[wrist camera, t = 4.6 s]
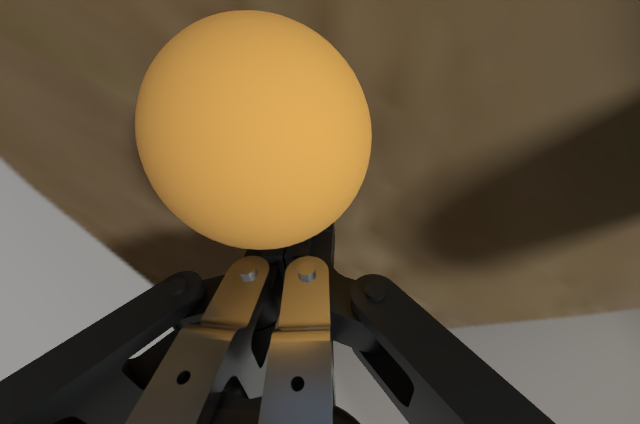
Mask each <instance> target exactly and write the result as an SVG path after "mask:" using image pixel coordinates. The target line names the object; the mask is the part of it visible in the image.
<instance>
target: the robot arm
mask: <svg viewBox="0 0 640 424" xmlns="http://www.w3.org/2000/svg"><path fill="white" fill-rule="evenodd" d="M334 250H335V233H334V222H333V223H332V224H331V225H330V226H329V227H327V228H326V229H324V230H323V231H322V232H320V233H319V234H317V235H315V236H313V237H311V238H309V239H307V240H305V241H303V242H300V243H297V244H294V245H291V246H288V247H283V248H278V249H266V250H255V249H247V252H246V254H245V257H244V258H241V259H239V260H237V261H236V262H234V263H233V264H232V265H231V266H230V267H229V269H228V271H227V273H226V274H225V275H222V276H218V277H214V278H210V279H206V280H201V278H200V276H199V275H198V274H197V273H195V272H192V271H183V272H179V273H176V274H174V275H172V276H170V277H168V278H166V279H165V280H163V281H162V282H160V283H158V284H157V285H155V286H153V287H152V288H150V289H149V290H147V291H146V292H144V293H142V294H141V295H139V296H137V297H136V298H134V299H133V300H131V301H129V302H128V303H126V304H124V305H123V306H121V307H120V308H118V309H117V310H115V311H113V312H112V313H110V314H108V315H107V316H105V317H103V318H102V319H100V320H99V321H97V322H95V323H94V324H92V325H91V326H89V327H87V328H86V329H84V330H82V331H81V332H79V333H78V334H76V335H74V336H73V337H71V338H70V339H68V340H66V341H65V342H64V343H61V344H60V345H58V346H57V347H55V348H53V349H52V350H50V351H49V352H47V353H45V354H44V355H42V356H41V357H39V358H38V359H36V360H34V361H32V362H31V363H29V364H28V365H26V366H24V367H23V368H21V369H20V370H18V371H16V372H15V373H13V374H11V375H10V376H8V377H7V378H5V379H3V380H2V381H0V424H360V423H359V422H358V421H357V420H356V419H355V418H354V417H353V416H351V415H350V414H349V413H347V412H346V411H344V410H343V409H341V408H339V407H337V406H336V396H335V379H334V378H335V377H334V353H333V340H334V341H337V342H339V343H342V344H344V345H347V346H349V347H352V349H353V352H354V353H355V354H356V356H357V357H358V358H359V360H360V361H361V362H362V363H363V365H364V366H365V367H366V369H367V370H368V371H369V372H370V374H371V375H372V376H373V378H374V379H375V380H376V381H377V383H378V384H379V385H380V386H381V388H382V389H383V390H384V392H385V393H386V394H387V395H388V397H389V398H390V399H391V401H392V402H393V403H394V404H395V406H396V407H397V408H398V410H399V411H400V412H401V413H402V415H403V416H404V417H405V419H406V420H407V421H408V423H409V424H555V423H554V422H553V421H552V420H551V419H549V417H547V416H546V415H545V414H544V413H543V412H541V410H539V409H538V408H537V407H536V406H535V405H534V404H532V403H531V402H530V401H529V400H528V399H527V398H526V397H524V396H523V395H522V394H521V393H520V392H519V391H517V390H516V389H515V388H514V387H513V386H512V385H511V384H509V383H508V382H507V381H506V380H505V379H504V378H503V377H501V376H500V375H499V374H498V373H497V372H496V371H495V370H493V369H492V368H491V367H490V366H489V365H488V364H486V363H485V362H484V361H483V360H482V359H481V358H479V357H478V356H477V355H476V354H475V353H474V352H473V351H472V350H470V349H469V348H468V347H467V346H466V345H465V344H463V343H462V342H461V341H460V340H459V339H458V338H457V337H455V336H454V335H453V334H452V333H451V332H450V331H449V330H447V329H446V328H445V327H444V326H443V325H442V324H440V323H439V322H438V321H437V320H436V319H435V318H434V317H432V316H431V315H430V314H429V313H428V312H427V311H426V310H424V309H423V308H422V307H421V306H420V305H419V304H417V303H416V302H415V301H414V300H413V299H412V298H411V297H409V296H408V295H407V294H406V293H405V292H404V291H403V290H401V289H400V288H399V287H398V286H397V285H396V284H394V283H393V282H392V281H391V280H390V279H388V278H386V277H384V276H381V275H376V274H369V275H364V276H362V277H360V278H358V279H357V280H353V279H350V278H347V277H344V276H342V275H341V274H339V273H338V272H337V271H336V270H335V269H334ZM171 327H173V328H174V331H172V332H171V333H170V334H168V335H167V336H166V337H164V338H163V339H162V340H161V341H159V342H158V343H156V344H155V345H154V346H152V347H151V348H149V349H148V350H147V351H145V352H144V353H143V354H141V355H140V356H138V357H136V358H133V359H129V358H130V357H131V356H132V355H134V354H135V353H136V352H138V351H139V350H141V349H142V348H143V347H145V346H146V345H147V344H149V343H150V342H151V341H153V340H154V339H156V338H157V337H158V336H160V335H161V334H162V333H164V332H165V331H167V330H168V329H169V328H171Z"/></svg>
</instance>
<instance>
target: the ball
mask: <svg viewBox="0 0 640 424" xmlns="http://www.w3.org/2000/svg"><path fill="white" fill-rule="evenodd" d="M135 135H136V144H137V148H138V152H139V157H140V160H141V162H142V165H143V168H144V171H145V173H146V175H147V177H148V179H149V181H150V183H151V185H152V187H153V189H154V190H155V192H156V193H157V195H158V196H159V197H160V199H161V200H162V201H163V203H164V204H165V205H166V206H167V207H168V208H169V209H170V211H171V212H173V213H174V214H175V215H176V216H177V217H178V218H179V219H180V220H181V221H183V222H184V223H185V224H186V225H187V226H189V227H190V228H192V229H193V230H195V231H196V232H198V233H200V234H202V235H204V236H206V237H208V238H210V239H212V240H214V241H217V242H220V243H223V244H225V245H228V246H233V247H237V248H242V249H255V250H266V249H278V248H283V247H288V246H291V245H294V244H297V243H300V242H303V241H305V240H307V239H309V238H311V237H313V236H315V235H317V234H319V233H320V232H322V231H323V230H324V229H326V228H327V227H329V226H330V225H331V224H332V223H333V222H335V221H336V220H337V219H338V218H339V217H340V216H341V215H342V214H343V213H344V211H345V210H346V209H347V208H348V207H349V205H350V204H351V202H352V201H353V199H354V198H355V196H356V195H357V193H358V191H359V189H360V187H361V185H362V183H363V180H364V177H365V174H366V171H367V168H368V163H369V158H370V153H371V139H372V132H371V119H370V115H369V110H368V105H367V102H366V99H365V96H364V93H363V91H362V88H361V86H360V84H359V82H358V80H357V78H356V76H355V74H354V72H353V70H352V69H351V68H350V66H349V65H348V63H347V62H346V60H345V59H344V58H343V57H342V56H341V55H340V53H339V52H338V51H337V50H336V49H335V48H334V47H333V46H332V45H331V44H330V43H329V42H328V41H327V40H325V39H324V38H323V37H322V36H321V35H319V34H318V33H317V32H315V31H313V30H312V29H310V28H308V27H307V26H305V25H303V24H301V23H299V22H296V21H294V20H292V19H290V18H287V17H285V16H282V15H278V14H274V13H271V12H264V11H256V10H243V11H229V12H223V13H218V14H215V15H212V16H208V17H206V18H203V19H201V20H199V21H197V22H194V23H193V24H191V25H190V26H188V27H186V28H185V29H183V30H182V31H180V32H179V33H178V34H177V35H176V36H174V37H173V38H172V39H171V40H170V41H169V42H168V43H167V44H166V45H165V46H164V47H163V48H162V49H161V50H160V52H159V53H158V54H157V56H156V57H155V59H154V60H153V61H152V63H151V65H150V67H149V69H148V70H147V72H146V74H145V77H144V79H143V82H142V84H141V87H140V91H139V95H138V99H137V105H136V112H135Z"/></svg>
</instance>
